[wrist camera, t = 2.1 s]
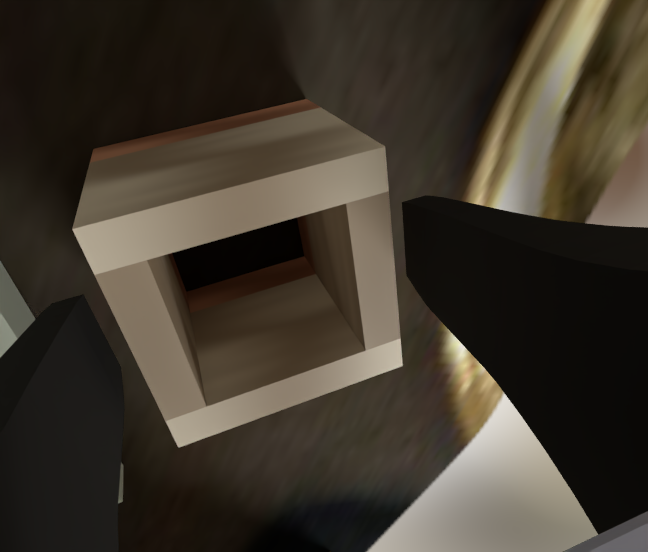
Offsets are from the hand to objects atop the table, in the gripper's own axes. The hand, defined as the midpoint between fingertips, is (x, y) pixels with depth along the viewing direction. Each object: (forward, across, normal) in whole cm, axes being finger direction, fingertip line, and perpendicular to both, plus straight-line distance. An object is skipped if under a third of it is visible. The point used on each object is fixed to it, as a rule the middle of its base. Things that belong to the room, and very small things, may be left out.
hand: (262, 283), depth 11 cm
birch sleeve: (+4, 0, 0) cm, 4 cm away
